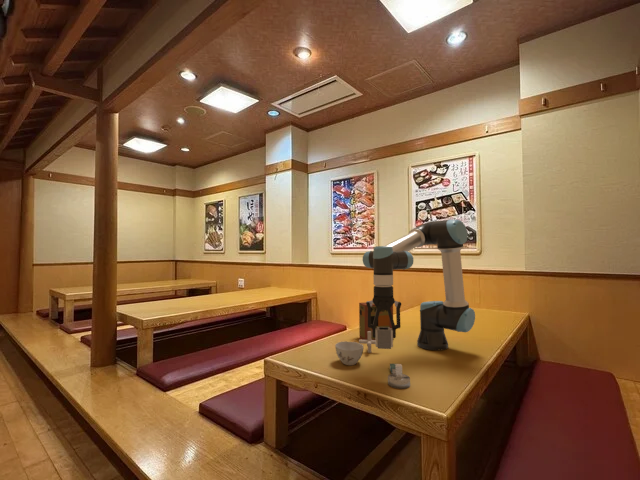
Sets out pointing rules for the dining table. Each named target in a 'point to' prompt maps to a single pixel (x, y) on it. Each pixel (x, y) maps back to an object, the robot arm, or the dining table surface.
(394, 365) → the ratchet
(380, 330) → the square hollow tube
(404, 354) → the dining table surface
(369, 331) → the pipe connector
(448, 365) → the dining table surface
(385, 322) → the box
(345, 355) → the teacup
